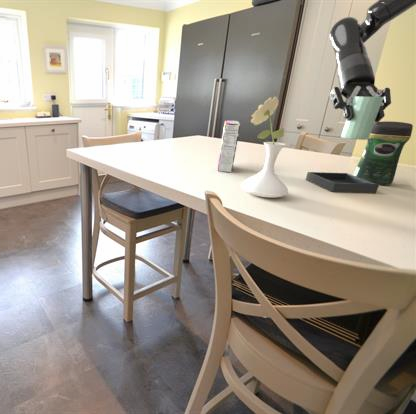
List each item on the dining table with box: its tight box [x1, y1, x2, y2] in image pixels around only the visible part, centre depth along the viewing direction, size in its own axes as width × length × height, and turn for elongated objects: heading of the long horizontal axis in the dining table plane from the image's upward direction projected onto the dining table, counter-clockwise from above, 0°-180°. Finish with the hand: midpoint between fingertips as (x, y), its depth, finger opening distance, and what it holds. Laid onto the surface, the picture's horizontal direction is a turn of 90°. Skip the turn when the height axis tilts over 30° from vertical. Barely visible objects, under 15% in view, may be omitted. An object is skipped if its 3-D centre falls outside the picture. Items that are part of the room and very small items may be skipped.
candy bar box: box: [217, 120, 241, 173], centre depth 100 cm, size 11×5×16 cm, turn 159°
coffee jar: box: [352, 120, 414, 186], centre depth 87 cm, size 10×8×19 cm
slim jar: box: [340, 96, 384, 141], centre depth 79 cm, size 6×6×11 cm
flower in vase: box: [240, 95, 289, 199], centre depth 73 cm, size 13×11×25 cm
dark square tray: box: [305, 171, 380, 194], centre depth 85 cm, size 12×12×3 cm
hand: (364, 119), depth 77 cm, fingers closed on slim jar, 6 cm apart
